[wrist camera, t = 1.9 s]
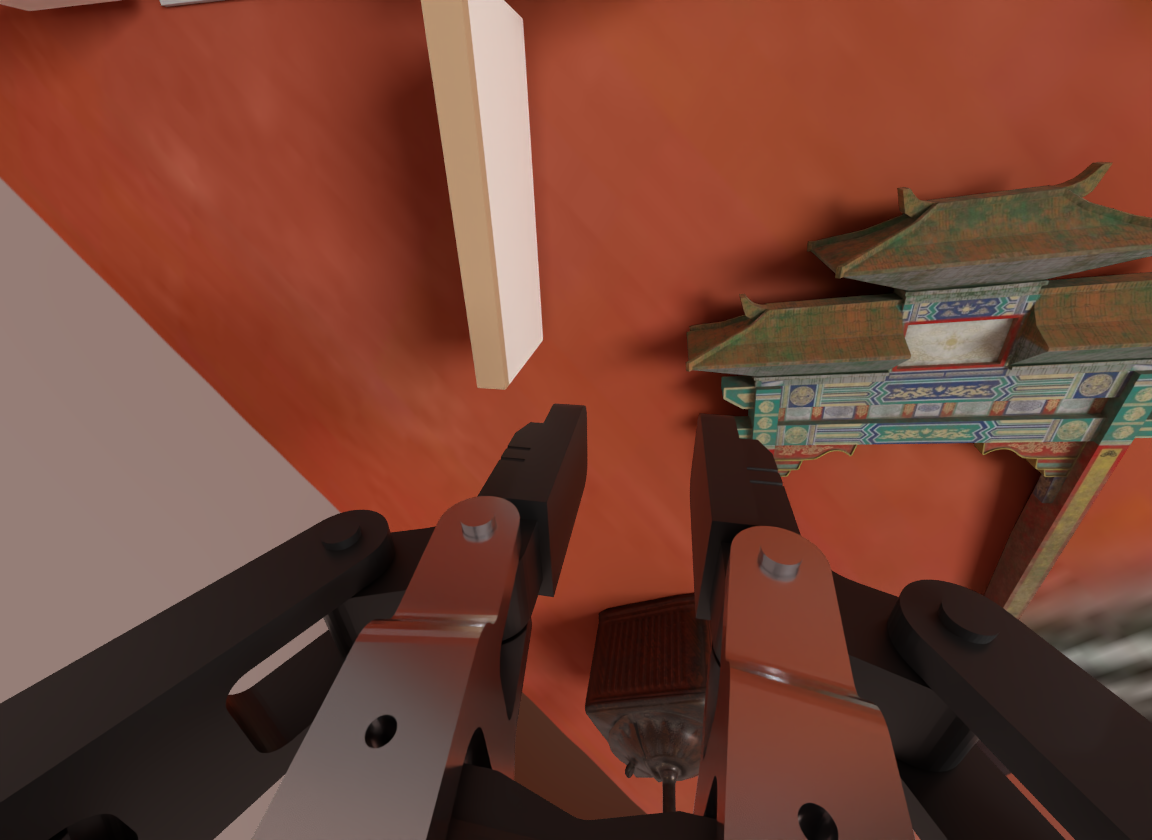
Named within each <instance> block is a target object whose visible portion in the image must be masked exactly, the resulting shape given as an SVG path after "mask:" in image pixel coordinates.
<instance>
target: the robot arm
mask: <svg viewBox="0 0 1152 840" xmlns="http://www.w3.org/2000/svg"><path fill="white" fill-rule="evenodd" d="M586 475H587V412H586V407H585V406H584V405H569V404H553V406H552V408H551V410H550V412H549V414H548V416H547V418H546V419H545V421H544V423H534V422H530V423H529V424H527V425H526V426H525V427H523V428H522V429H520V430H519V431H517V432H516V433H515V434H514V436H513V438H512V440H511V441H510V443H509V445H508V448H507V449H506V450H505V451H504V453H503V455H502V456H501V460H499V461H498V463H497V465H496V466H495V468H494V470H493V471H492V473H491V475H490V476H489V478H488V480H487V481H486V483H485V485H484V486H483V488H482V490H481V491H480V493H479V495H478V496H477V497H473V498H469V499H466V500H464V501H461V502H459V503H457V504H455V505H454V506H452V507H451V508H449V509H448V510H447V511H446V512H445V513H444V514H443V515H442V516H441V518H440V519H439V521H438V523H437V525H436V526H435V527H430V528H424V529H416V530H408V531H400V532H392V533H390V529H389V526H388V523H387V521H386V519H385V517H383V516H382V515H381V514H379V513H377V512H374V511H370V510H353V511H347V512H343V513H340V514H337V515H335V516H332V517H329V518H327V519H325V520H323V521H321V522H320V523H318V524H316V525H314V526H313V527H311V528H309V529H307V530H306V531H304V532H302V533H300V534H298V535H297V536H295V537H293V538H291V539H290V540H288V541H286V542H284V543H283V544H281V545H279V546H277V547H275V548H274V549H272V550H270V551H268V552H267V553H265V554H263V555H261V556H260V557H258V558H256V559H254V560H253V561H251V562H249V563H247V564H246V565H244V566H242V567H240V568H239V569H237V570H235V571H233V572H232V573H230V574H228V575H226V576H224V577H223V578H221V579H219V580H217V581H216V582H214V583H212V584H210V585H208V586H207V587H205V588H203V589H201V590H200V591H198V592H196V593H194V594H193V595H191V596H189V597H187V598H186V599H184V600H182V601H180V602H179V603H177V604H175V605H173V606H171V607H170V608H168V609H166V610H164V611H163V612H161V613H159V614H157V615H156V616H154V617H152V618H151V619H149V620H147V621H145V622H143V623H142V624H140V625H138V626H136V627H134V628H133V629H131V630H129V631H127V632H126V633H124V634H122V635H120V636H119V637H117V638H115V639H113V640H112V641H110V642H108V643H106V644H105V645H103V646H101V647H99V648H97V649H96V650H94V651H92V652H90V653H89V654H87V655H85V656H83V657H82V658H80V659H78V660H76V661H75V662H73V663H71V664H69V665H68V666H66V667H64V668H62V669H61V670H59V671H57V672H55V673H53V674H52V675H50V676H48V677H46V678H45V679H43V680H41V681H39V682H38V683H36V684H34V685H33V686H31V687H29V688H27V689H25V690H24V691H22V692H20V693H18V694H16V695H15V696H13V697H11V698H9V699H8V700H6V701H4V702H2V703H1V704H0V840H213V839H214V838H216V836H218V835H219V834H220V833H221V832H222V831H223V830H224V829H225V828H226V827H228V826H229V825H230V824H231V823H232V822H233V821H234V820H235V819H236V818H237V817H238V816H240V815H241V814H242V813H243V812H244V811H245V810H246V809H247V808H248V807H249V806H251V804H253V803H254V802H255V801H256V800H257V799H258V798H259V797H260V796H261V795H263V794H264V793H265V792H266V791H267V790H268V789H269V788H270V787H271V786H272V785H274V784H275V783H276V782H277V781H278V780H279V779H280V778H281V777H282V776H283V775H285V776H284V778H283V780H282V782H281V784H280V786H279V788H278V790H277V792H276V794H275V795H274V797H273V799H272V801H271V803H270V805H269V807H268V809H267V811H266V813H265V815H264V816H263V818H262V820H261V822H260V824H259V826H258V828H257V830H256V832H255V834H254V836H253V837H252V840H915V836H914V832H913V830H914V831H915V833H916V834H917V835H918V837H919V838H920V839H921V840H1065V839H1064V837H1063V836H1061V834H1060V833H1059V832H1058V831H1057V830H1056V829H1055V828H1054V827H1053V826H1052V825H1051V824H1050V823H1049V822H1048V820H1047V819H1046V818H1045V817H1044V816H1043V815H1042V814H1041V813H1040V812H1039V811H1038V810H1037V809H1036V808H1035V807H1034V806H1033V805H1032V804H1031V802H1030V801H1029V800H1028V799H1027V798H1026V797H1025V796H1024V795H1023V794H1022V793H1021V792H1020V791H1019V790H1018V788H1017V787H1016V786H1015V785H1014V784H1013V783H1012V782H1011V781H1010V780H1009V779H1008V778H1007V777H1006V776H1005V775H1004V774H1003V772H1002V771H1001V770H1000V769H999V768H998V767H997V766H996V765H995V764H994V763H993V762H992V761H991V760H990V759H989V758H988V756H987V755H986V754H985V753H984V752H983V751H982V750H981V749H980V748H979V747H978V746H977V745H976V742H977V741H978V740H979V739H980V740H981V741H982V742H983V743H984V744H985V745H986V746H987V748H988V749H989V750H990V751H991V752H992V753H993V754H994V755H995V756H996V757H997V758H998V759H999V760H1000V761H1001V762H1002V763H1003V764H1004V765H1005V766H1006V767H1007V768H1008V770H1009V771H1010V772H1011V773H1012V774H1013V775H1014V776H1015V777H1016V778H1017V779H1018V780H1019V781H1020V782H1021V783H1022V784H1023V785H1024V786H1025V787H1026V788H1027V789H1028V790H1029V791H1030V793H1031V794H1033V796H1034V797H1035V798H1036V799H1037V800H1038V801H1039V802H1040V803H1041V804H1042V805H1043V806H1044V807H1045V808H1046V809H1047V810H1048V812H1049V813H1050V814H1051V815H1052V816H1053V817H1054V818H1055V819H1056V820H1057V821H1058V822H1059V823H1060V824H1061V825H1062V826H1063V827H1064V828H1065V829H1066V830H1067V831H1068V832H1069V833H1070V835H1071V836H1072V837H1073V838H1074V839H1075V840H1152V723H1151V722H1150V721H1149V720H1148V719H1146V718H1145V717H1144V716H1142V715H1141V714H1140V713H1139V712H1137V711H1136V710H1135V709H1133V708H1132V707H1131V706H1129V705H1128V704H1127V703H1126V702H1124V701H1123V700H1122V699H1120V698H1119V697H1118V696H1117V695H1115V694H1114V693H1113V692H1111V691H1110V690H1109V689H1107V688H1106V687H1105V686H1104V685H1102V684H1101V683H1100V682H1098V681H1097V680H1096V679H1094V678H1093V677H1092V676H1091V675H1089V674H1088V673H1087V672H1085V671H1084V670H1083V669H1082V668H1080V667H1079V666H1078V665H1076V664H1075V663H1074V662H1072V661H1071V660H1070V659H1069V658H1067V657H1066V656H1065V655H1063V654H1062V653H1061V652H1060V651H1058V650H1057V649H1056V648H1054V647H1053V646H1052V645H1050V644H1049V643H1048V642H1047V641H1045V640H1044V639H1043V638H1041V637H1040V636H1039V635H1037V634H1036V633H1035V632H1034V631H1032V630H1031V629H1030V628H1028V627H1027V626H1026V625H1025V624H1023V623H1022V622H1021V621H1019V620H1018V619H1017V618H1015V617H1014V616H1013V615H1012V614H1010V613H1009V612H1008V611H1006V610H1005V609H1004V608H1002V607H1001V606H999V605H998V604H996V603H995V602H993V601H992V600H990V599H988V598H987V597H985V596H983V595H981V594H979V593H977V592H975V591H973V590H970V589H968V588H965V587H963V586H960V585H956V584H953V583H949V582H945V581H939V580H919V581H915V582H912V583H910V584H908V585H907V586H906V587H904V589H903V590H902V592H901V594H900V596H899V597H897V596H894V595H891V594H888V593H885V592H882V591H879V590H877V589H874V588H871V587H868V586H865V585H862V584H859V583H857V582H854V581H852V580H849V579H847V578H845V577H843V576H841V575H839V574H837V573H835V572H834V571H832V570H831V567H830V564H829V562H828V560H827V558H826V557H825V555H824V554H823V553H822V551H821V550H820V549H819V548H818V547H817V546H815V545H814V544H813V543H812V542H810V541H809V540H807V539H806V538H804V537H802V536H801V535H800V532H799V529H798V526H797V523H796V520H795V517H794V514H793V511H792V509H791V506H790V503H789V500H788V497H787V494H786V491H785V488H784V486H782V484H783V482H782V479H781V477H780V474H779V473H778V468H777V465H776V462H775V459H774V456H773V454H772V453H771V452H770V451H769V450H768V449H767V448H766V447H765V446H764V445H763V444H762V443H761V442H760V441H759V440H756V439H742V438H739V434H738V430H737V426H736V421H735V418H734V416H730V415H715V414H699V417H698V422H697V430H696V437H695V445H694V453H693V461H692V469H691V479H690V510H691V530H692V551H693V572H694V593H695V613H696V618H698V619H704V620H711V629H712V643H711V648H710V653H709V659H708V671H707V683H706V695H705V706H704V718H703V730H702V742H701V754H700V765H699V774H698V783H697V790H696V796H695V803H694V811H693V814H690V813H686V812H681V811H676V812H666V813H657V814H647V815H637V816H627V817H619V818H608V819H598V820H582V819H578V818H576V817H574V816H572V815H570V814H568V813H567V812H565V811H563V810H562V809H560V808H558V807H557V806H555V805H553V804H552V803H550V802H549V801H546V800H545V799H543V798H542V797H540V796H539V795H537V794H535V793H534V792H532V791H530V790H529V789H527V788H526V787H524V786H522V785H521V784H519V783H517V782H516V781H514V769H515V736H516V727H517V720H518V714H519V707H520V701H521V694H522V688H523V681H524V675H525V668H526V662H527V655H528V649H529V642H530V636H531V629H532V621H531V615H532V612H533V609H534V606H535V603H536V600H537V597H538V595H543V596H550V597H554V594H555V590H556V587H557V583H558V580H559V576H560V572H561V569H562V565H563V562H564V558H565V555H566V551H567V547H568V544H569V540H570V537H571V533H572V530H573V526H574V523H575V519H576V515H577V512H578V508H579V505H580V501H581V498H582V494H583V490H584V487H585V482H586ZM322 618H324V620H325V622H326V625H327V627H328V629H329V630H328V631H326V632H325V633H324V634H322V635H321V636H319V637H318V638H317V639H315V640H314V641H313V642H311V643H310V644H309V645H307V646H306V647H305V648H303V649H302V650H301V651H299V652H298V653H297V654H295V655H294V656H293V657H292V658H290V659H289V660H287V661H286V662H285V663H283V664H282V665H281V666H279V667H278V668H277V669H275V670H274V671H273V672H272V673H270V674H269V675H267V676H266V677H265V678H263V679H262V680H261V681H259V682H258V683H256V684H255V685H254V686H252V687H251V688H249V689H247V690H246V691H244V692H241V693H238V694H234V695H228V694H229V692H230V690H231V688H232V687H233V686H234V684H235V683H236V682H237V681H238V680H239V679H240V678H241V677H242V676H243V675H244V674H246V673H247V672H248V671H250V670H251V669H252V668H254V667H255V666H257V665H258V664H259V663H261V662H262V661H263V660H265V659H266V658H268V657H269V656H270V655H272V654H273V653H275V652H276V651H277V650H279V649H280V648H281V647H283V646H284V645H286V644H287V643H288V642H290V641H291V640H292V639H294V638H295V637H297V636H298V635H300V634H301V633H302V632H304V631H305V630H306V629H308V628H309V627H310V626H312V625H313V624H315V623H316V622H318V621H319V620H320V619H322Z"/></svg>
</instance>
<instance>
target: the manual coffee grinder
mask: <svg viewBox="0 0 1152 840" xmlns="http://www.w3.org/2000/svg"><path fill="white" fill-rule="evenodd" d="M711 643H712V629H711V620H704V619H698V618H696V613H695V593H693V594H685V595H677V596H671V597H666V598H661V599H656V600H650V601H645V602H640V603H635V604H629V605H624V606H619V607H614V608H610V609H606V610H604V611H603V612H601V613H599V624H598V631H597V637H596V643H595V648H594V654H593V660H592V666H591V672H590V678H589V684H588V691H587V697H586V703H585V711H586V714H587V715H588V716H589V718H590V719H591V720H592V722H593V723H594V725H595V726H596V727H597V729H598V730H599V731H600V732H601V734H602V735H603V736H604V737H605V739H606V740H607V741H608V743H609V746H610V748H611V751H612V752H613V754H614V755H615V756H616V757H617V758H618V759H619V760H620V761H621V762H623V763H625V764H626V765H627V766H626V769H625V774H626V776H627V777H628V778H630V777H631V776H632V775H633V774H634V775H635V776H636V777H654V778H655V779H656V780H657V781H658V782H661V781H663V813H666V812H676V808H675V783H676V781H682V780H685V779H689V778H693V777H695V776H698V774H699V765H700V754H701V742H702V730H703V718H704V706H705V695H706V683H707V671H708V659H709V653H710V648H711Z"/></svg>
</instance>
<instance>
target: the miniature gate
mask: <svg viewBox="0 0 1152 840" xmlns="http://www.w3.org/2000/svg"><path fill="white" fill-rule="evenodd" d="M1111 165H1112V163H1109V162H1096V163H1092V164H1091V165H1090V166H1089V167H1087V168H1086V169H1085V170H1084V171H1083V172H1082V173H1080V174H1079V175H1078V176H1076V177H1075V178H1073V179H1071V180H1069V181H1066V182H1064V183H1061V184H1058V185H1054V186H1049V185H1048V186H1040V187H1032V188H1023V189H1015V190H1007V191H999V192H991V193H982V194H974V195H966V196H958V197H950V198H941V199H933V200H927V201H922V200H919V199H918V198H917V197H916V196H915V195H914V194H913V192H912V191H911V189H909V188H906V187H902V188H897V190H898V201H899V209H900V212H902V213H903V215H900V216H898V217H895V218H893V219H890V220H887V221H885V222H882V223H880V224H877V225H874V226H872V227H869V228H867V229H864V230H860V231H855V232H851V233H847V234H842V235H838V236H834V237H830V238H825V239H821V240H817V241H808V245H807V251H811V252H812V253H813V254H815V255H816V256H817V257H818V258H819V259H820V260H821V261H822V262H823V263H824V264H826V265H827V266H828V267H829V268H830V269H831V270H832V271H833V272H834V273H835V274H836V276H835V278H842V277H844V278H849V279H854V280H859V281H864V282H868V283H873V284H878V285H883V286H888V287H892V288H894V292H893V293H890V294H877V295H865V296H853V297H841V298H828V299H816V300H804V301H792V302H779V303H767V304H764V305H761V304H757V303H754V302H752V301H751V300H750V299H749V298H748V297H747V296H746V295H745V294H739V295H740V299H741V303H742V307H743V310H744V313H745V314H744V315H741V316H738V317H735V318H732V319H729V320H726V321H723V322H715V323H707V324H699V325H693V326H689V328H690V331H689V332H687V345H688V358H689V361H687V362H686V371H691V370H698V371H708V372H718V373H728V374H738V375H748V376H729V377H722V381H721V388H722V394H723V399H724V400H726V401H728V402H730V403H732V404H734V405H736V406H738V407H740V408H742V409H748V416H734V418H735V421H736V426H737V430H738V434H739V438H742V439H756V440H759V441H760V442H761V443H762V444H763V445H764V446H765V447H766V448H767V449H768V450H769V451H770V452H771V453H772V454H773V456H774V459H775V462H776V465H777V468H778V473H779V474H780V477H786V476H788V475H789V473H790V471H791V470H798V469H799V468H800V466H801V463H802V461H803V460H813V459H817V458H819V457H821V456H823V455H825V454H827V453H829V452H832V451H841V452H844V453H846V454H848V455H849V456H852V455H853V453H854V451H855V449H856V447H857V444H929V443H974V446H975V447H976V448H977V449H978V450H979V451H980V452H981V453H982V454H983V455H985V454H987V453H989V452H992V451H995V450H999V449H1008V450H1011V451H1013V452H1015V453H1016V454H1017V455H1019V456H1020V457H1022V458H1026V460H1027V461H1028V462H1029V463H1030V464H1031V465H1032V466H1033V467H1034V468H1035V469H1037V470H1038V471H1039V472H1040V473H1041V476H1040V478H1039V480H1038V482H1037V484H1036V486H1035V488H1034V490H1033V492H1032V494H1031V496H1030V498H1029V500H1028V502H1027V503H1026V505H1025V507H1024V509H1023V511H1022V513H1021V515H1020V517H1019V519H1018V520H1017V522H1016V524H1015V526H1014V528H1013V530H1012V532H1011V534H1010V536H1009V539H1008V541H1007V543H1006V546H1005V548H1004V550H1003V553H1002V555H1001V557H1000V560H999V562H998V564H997V567H996V569H995V571H994V574H993V576H992V578H991V581H990V583H989V585H988V588H987V590H986V592H985V595H984V596H985V597H987V598H988V599H990V600H992V601H993V602H995V603H996V604H998V605H999V606H1001V607H1002V608H1004V609H1005V610H1006V611H1008V612H1009V613H1010V614H1012V615H1013V616H1014V617H1015V618H1017V619H1018V620H1019V619H1020V617H1021V616H1022V614H1023V613H1024V611H1025V610H1026V608H1027V606H1028V605H1029V603H1030V602H1031V600H1032V599H1033V597H1034V595H1035V594H1036V592H1037V591H1038V589H1039V587H1040V586H1041V584H1042V583H1043V581H1044V580H1045V578H1046V576H1047V575H1048V573H1049V572H1050V570H1051V569H1052V567H1053V565H1054V564H1055V562H1056V561H1057V559H1058V558H1059V556H1060V554H1061V553H1062V551H1063V550H1064V548H1065V547H1066V545H1067V543H1068V542H1069V540H1070V539H1071V537H1072V536H1073V534H1074V532H1075V531H1076V529H1077V528H1078V526H1079V525H1080V523H1081V521H1082V520H1083V518H1084V517H1085V515H1086V513H1087V512H1088V510H1089V509H1090V507H1091V506H1092V504H1093V502H1094V501H1095V499H1096V498H1097V496H1098V495H1099V493H1100V491H1101V490H1102V488H1103V487H1104V485H1105V484H1106V482H1107V480H1108V479H1109V477H1110V476H1111V474H1112V473H1113V471H1114V469H1115V468H1116V466H1117V465H1118V463H1119V462H1120V460H1121V458H1122V457H1123V455H1124V454H1125V452H1126V450H1127V449H1128V447H1129V446H1130V444H1131V443H1132V441H1133V439H1134V438H1152V272H1147V273H1134V274H1122V275H1110V276H1098V277H1085V278H1073V279H1061V280H1049V281H1048V280H1046V279H1050V278H1054V277H1059V276H1063V275H1068V274H1072V273H1077V272H1081V271H1086V270H1090V269H1095V268H1099V267H1104V266H1108V265H1113V264H1118V263H1122V262H1127V261H1131V260H1136V259H1140V258H1145V257H1149V256H1152V218H1150V217H1144V216H1138V215H1133V214H1130V213H1126V212H1123V211H1119V210H1116V209H1114V208H1113V209H1112V208H1109V207H1105V206H1102V205H1098V204H1094V203H1091V202H1089V201H1087V200H1085V199H1084V198H1082V197H1084V196H1086V195H1087V194H1089V193H1090V192H1092V191H1093V189H1094V188H1095V187H1096V186H1097V184H1098V183H1099V182H1100V180H1101V179H1102V177H1103V176H1104V175H1105V173H1106V172H1107V170H1108V169H1109V168H1110V166H1111Z"/></svg>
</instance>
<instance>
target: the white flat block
mask: <svg viewBox="0 0 1152 840" xmlns="http://www.w3.org/2000/svg"><path fill="white" fill-rule="evenodd" d="M421 5H422V12H423V18H424V25H425V32H426V39H427V46H428V53H429V59H430V66H431V73H432V80H433V87H434V94H435V100H436V107H437V114H438V121H439V128H440V135H441V141H442V148H443V155H444V162H445V169H446V175H447V182H448V189H449V196H450V203H451V210H452V216H453V223H454V230H455V237H456V244H457V251H458V257H459V264H460V271H461V278H462V285H463V292H464V298H465V305H466V312H467V319H468V326H469V333H470V339H471V346H472V353H473V360H474V367H475V374H476V380H477V387H478V388H489V389H506V388H507V387H508V385H509V384H510V383H511V381H512V380H513V379H514V378H515V376H516V375H517V374H518V372H519V371H520V370H521V368H522V367H523V366H524V364H525V363H526V362H527V360H528V359H529V358H530V356H531V355H532V354H533V353H534V351H535V350H536V349H537V347H538V346H539V345H540V343H541V342H542V341H543V332H542V316H541V300H540V284H539V268H538V252H537V236H536V220H535V204H534V188H533V173H532V157H531V141H530V125H529V109H528V93H527V77H526V61H525V45H524V30H523V19H522V18H521V17H520V16H519V15H518V14H517V13H516V12H515V11H514V10H513V9H512V8H511V7H510V6H509V5H508V4H507V3H506V2H505V1H504V0H421Z"/></svg>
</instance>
